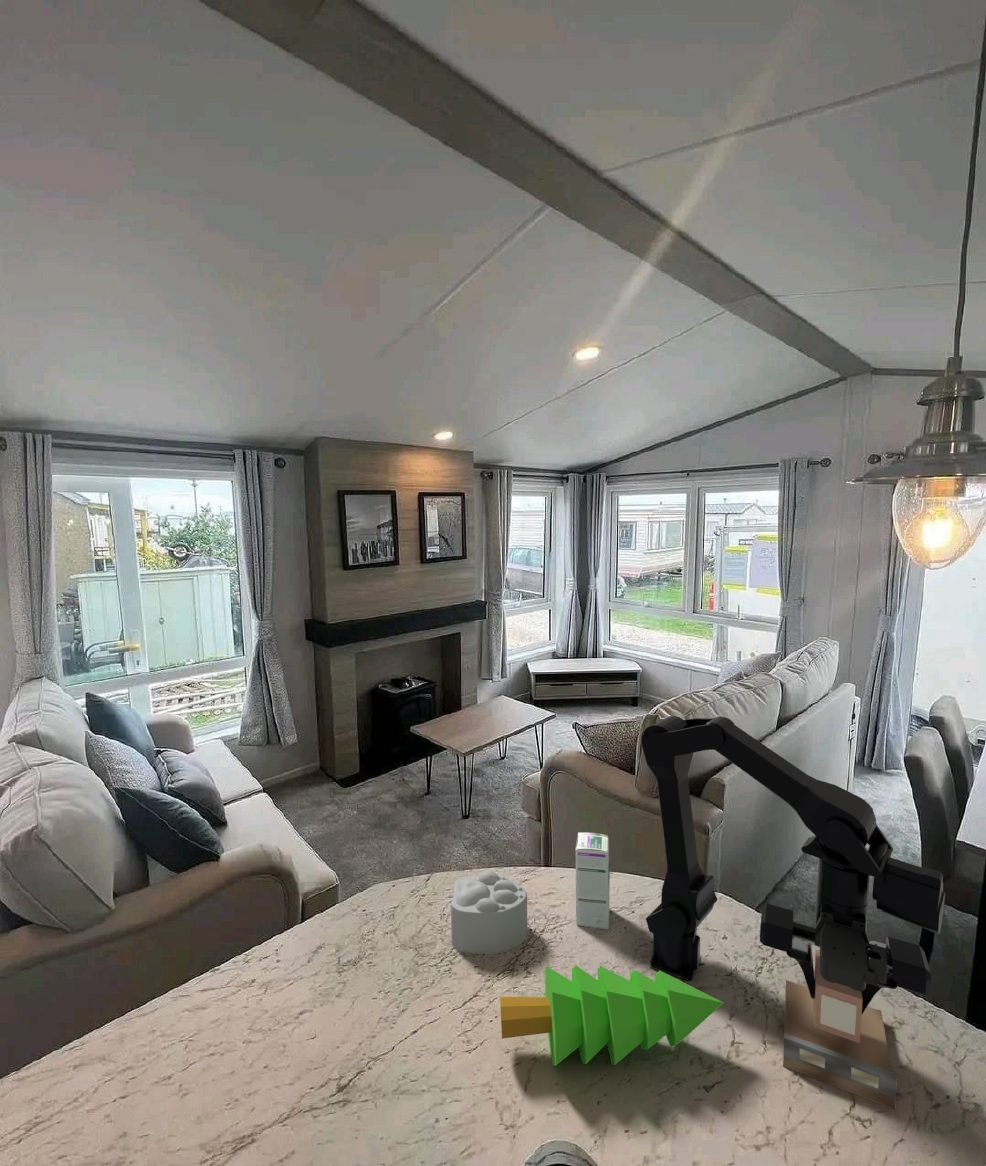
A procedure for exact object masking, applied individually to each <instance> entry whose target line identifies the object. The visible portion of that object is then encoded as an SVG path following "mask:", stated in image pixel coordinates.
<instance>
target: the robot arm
mask: <svg viewBox="0 0 986 1166" xmlns="http://www.w3.org/2000/svg"><path fill="white" fill-rule="evenodd" d="M640 745H641V748H642V751H643V756H644V759H645V763H646V764H647V766H648V768H649V769H650V771H651V772H652V774H653V775H654V778H655V779H656V784H657V785H656V786H657V793H658V802H659V810H660V818H661V826H662V836H663V841H664V844H663V845H664V850H665V860H666V872H665V875H664V879H663V884H662V888H661V897H660V898H661V899H660V903H659V905H657V906H656V907H655V908H654V910H652V912H651V913H650V914H649V915H648V916H646V918H645V921H646V925H647V928H648V931H649V932H650V934H651V933H652V956H651V958H650V961H649V967H650V968H653V969H655V970H658V971H662V972H664V973H666V974H668V975H671V976H675V977H678V978H681V979H683V980H686V981H693V978H694V975H695V974H694V973H695V971H697V970H698V969H699V964H700V959H701V958H700V957H701V937H700V936H699V935H697V933H698V932H697V929H698V927H699V926H700V925H701V924H702V923H703V921H704V920H705V919H706V918H707V917H708V916H709V914H710V913H711V912H712V910H713V909H714V905H715V904H716V903H717V901H718V897H717V895H716V892H715V891H716V890H715V878H714V876H713V875H708V874H705V873H704V871H703V870H702V868H701V866H700V864H699V860H698V851H697V842H696V833H695V825H694V818H693V809H692V808H693V807H692V799H691V793H690V785H689V771H690V767H691V763H692V761H693V756H694V753H698V752H703V751H713V750H714V751H716V752H717V753H718V754H720V755H721V756H722V757H723V758H725V759H726V760H727V761H729V762H731V763H732V764H733V765H735V766H736V767H738V769H740V770H741V771H743V772H744V773H746V774H747V775H748V776H750V777H751V778H753V779H754V780H755V781H756V782H758V783H759V784H760V785H762V786H764V787H765V788H766V789H767V790H769V791H770V792H772V793H773V794H774V795H775V796H777V797H779V798H780V799H781V800H782V801H784V802H785V803H787V805H788V806H789V807H791V809H793V810H794V811H795V813H796V814H797V816H798V817H799V818H800V820H801V822H802V823H803V825H804V826H805V827H806V828H807V829H808V830H809V831H810V832H811V833H812V834H813V836H810V837H808V838H807V839H806V841H805V842H804V844H803V845H802V846H801V847H800V851H801V852H802V853H804V854H806V855H809V856H812V857H816V859H818V861H817V879H816V880H817V882H816V898H815V899H816V901H815V917H814V918H815V920H814V927H813V926H810V925H809V926H808V925H805V924H803V923H802V924H801V923H798V922H794V910H792V909H789V908H785V907H781V906H778V905H774V904H771V903H765V904H764V905H762V907H761V917H760V924H759V925H760V927H759V929H760V930H759V942H760V943H761V944H762V945H763V946H766V947H769V948H772V949H775V950H778V951H781V952H785V953H786V955H787V956H788V957H789V958H790V959H794V960H795V961H796V962H797V963H798V965H799V967H800V969H801V971H802V974H803V976H804V979H805V983H806V987H808V989H809V992H810V995H811V998H813V999H815V977H814V967H815V965H814V957H813V946H814V947H817V948H819V950H820V974H821V976H822V977H823V978H824V979H825V980H826V981H828V982H831V983H838V984H841V985H844V986H847V987H850V988H852V989H853V990H856V991H862V999H863V1001H862V1014H863V1012H864V1011H865V1009H866V1008H867V1007H869V1004H870V1003H871V1001H872V1000H873V999H874V997H875V996H876V994H877V993H878V992H879V991H880V990H881V989H885V988H887V989H890V990H896V989H897V987H900V988H902V989H905V990H909V991H913V992H915V993H918V994H922V995H926V996H927V995H929V994H931V990H932V989H931V988H932V987H931V986H932V975H931V970H930V966H929V963H928V960H927V956H926V953H925V951H924V950H923V948H922V947H921V946H920V945H919V944H917V943H912V942H909V941H906V940H901V939H898V938H893V937H890V936H887V937H886V938H885V943H882V942H880V941H875V940H870V939H869V936H868V933H867V930H868V929H867V928H868V927H867V926H868V925H867V924H868V912H869V911H868V910H869V893H870V877H873V883H872V893H871V894H872V895H871V896H872V900H873V901H875V902H876V909H877V910H880V911H881V912H882V913H884V914H886V915H888V916H891V917H893V918H897V919H898V920H901V921H903V922H907V923H910V924H912V925H915V926H918V927H920V928H921V929H922V928H923V929H925V930H928V931H930V932H933V933H935V934H937V935H938V934H940V933H941V928H942V924H943V917H944V908H945V899H946V892H945V891H944V882H943V879H944V878H943V876H944V874H943V873H942V872H941V871H938V870H935V869H932V868H928V867H922V866H918V865H915V864H912V863H909V862H906V861H903V860H899V859H897V858H893V857H892V854H893V851H894V847H893V846H892V845H891V844H890V842H889V840H888V839H887V837H886V836H885V834H884V833H883V832H882V830H881V829H880V828H879V826H878V823H877V818H876V815H875V812H874V809H873V807H872V806H871V805H870V803H869V802H867V801H866V799H863V798H862V797H860V796H858V795H856V794H854V793H852V792H850V791H848V790H846V789H845V788H842V787H840V786H838V785H836V784H833V783H829V782H827V781H823V780H819V779H816V778H814V777H812V776H810V775H809V774H807V773H805V772H804V771H803V770H801V769H800V768H799V767H797V766H795V765H794V764H792V763H791V762H790V761H788V760H787V759H785V758H784V757H783V756H782V755H779V754H778V753H776V752H775V751H773V750H772V749H771V748H769V747H767V746H766V744H765V745H764V744H763V743H762V742H761V741H759V740H758V739H756V738H754V737H753V736H751V735H750V734H749V733H747V732H746V731H744V730H743V729H741V728H740V727H738V726H737V725H735V723H734V721H732V720H731V719H730V718H728V717H725V716H716V717H711V718H710V717H709V718H708V717H707V718H706V717H694V718H687V719H683V718H681V717H679V716H675V715H669V716H667V717H665V718H662V719H661V720H659V721H656V722H655V723H654V724H652V725H650V726H649V725H648V727H646V728H645V729H644V731H643V732H642V733H641V736H640ZM867 844H868V845H869V847H868V848H867V847H866V846H867Z"/></svg>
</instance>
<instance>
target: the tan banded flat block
mask: <svg viewBox="0 0 986 1166" xmlns="http://www.w3.org/2000/svg"><path fill="white" fill-rule="evenodd" d="M784 994H785V997H784V1023H783V1027H784V1028H783V1029H784V1031H783V1033H784V1034H783V1055H782V1057H783V1058H782V1066H783V1067H785V1068H788V1069H790V1070H792V1071H795V1072H797V1073H799V1074H802V1075H805V1076H807V1077H811V1078H813V1079H815V1080H818V1081H820V1082H823V1083H826V1084H829V1085H831V1086H833V1087H836V1088H837V1089H841V1090H843V1091H846V1092H848V1093H851V1094H854V1095H856V1096H859V1097H861V1098H864V1099H867V1100H870V1101H872V1102H874V1103H877V1104H880V1105H883V1106H884V1107H887V1108H890V1109H892V1110H896V1100H897V1083H898V1077H897V1073H895V1072H893V1071H892V1068H891V1061H890V1055H889V1050H888V1043H887V1037H886V1036H887V1035H886V1029H885V1025H884V1018H883V1014H882V1013H883V1011H882V1010H879V1009H877V1008H873V1007H870V1006H867V1008H866V1009H865V1011H864V1012H863V1014H862V1017H861V1034H860V1043H857V1042H854V1041H852V1040H849V1039H846V1038H843V1037H840V1036H837V1035H835V1034H832V1033H829V1032H826V1031H823V1030H820V1029H818V1028H815V1027H814V999H813V998H811V995H810V992H809V989H808V986H807V985H806V986H805V985H803V984H799V983H796V982H794V981H790V980H788V979H786V980H785V993H784Z"/></svg>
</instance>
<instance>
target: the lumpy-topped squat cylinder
mask: <svg viewBox="0 0 986 1166" xmlns="http://www.w3.org/2000/svg"><path fill="white" fill-rule="evenodd" d="M452 891H453V892H452V893H453V895H452V898H451V899H450V900H451V901H450V928H451V929H450V932H451V933H450V935H451V937H450V938H451V940H450V942H451V943H450V944H451V945H452V947H453V949H455V950H457V951H459V952H462V953H467V954H477V955H478V954H479V955H489V954H490V955H494V954H496V955H497V954H502V953H505V952H507V951H509V950H510V951H511V950H512V949H514V948H516V947H518V946H519V945H521V944H522V943H523V942H524V941H525V940H526V939H527V937H528V893H527V891H526V889H525V888H524V887H523V886H522V885H521V884H520V883H518V882H517V881H514V880H512V879H509V878H507V877H505V876H501V875H498V874H497V873H495V872H494V871H493V870H492V871H491V870H487V871H483V872H482V873H481V874H480V875H470V876H469V875H468V876H464V877H460V878H459V879H457V880H455V882H454V883H453V890H452Z"/></svg>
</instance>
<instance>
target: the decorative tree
mask: <svg viewBox="0 0 986 1166" xmlns="http://www.w3.org/2000/svg"><path fill="white" fill-rule="evenodd" d="M596 971H597V978H595V977H593V976H592V975H591V974H590V973H588V972H586V971H585V970H583V969H582V968H580V967H579V966H578V965H574V966H573V968H572V969H571V976H572V978H571V980H570V979H569V978H568V977H565V976H564V975H562V974H561V973H559V972H557V971H555V970H554V969H552V968H551V967H549V966H547V967H546V968H545V970H544V986H545V987H544V988H545V989H544V990H545V991H544V992H545V993H544V996H500V997H499V1002H500V1003H499V1004H500V1005H499V1006H500V1023H501V1025H500V1027H501V1039H510V1038H518V1037H526V1036H533V1035H534V1036H535V1035H541V1034H542V1035H543V1034H547V1036H548V1042H549V1043H548V1044H549V1050H550V1056H551V1063H552V1066H556V1067H557V1065H558V1064H560V1063H561V1062H562V1061H563V1060H564V1059H566V1058H567V1057H569V1056H570V1054H571V1053H573V1052H574V1051H576V1050H577V1049H578V1050H579V1054H580V1059H581V1064H585V1065H587V1064H588V1063H589V1061H591V1060H592V1059H593V1058H594V1057H595V1056H596V1055H597V1054H598V1053H599V1052H600V1051H601V1050H602V1049H603V1048H604V1047H605V1046H607V1050H608V1054H609V1059H610V1063H611V1065H617V1064H618V1063H619V1062H621V1061H622V1060H623V1059H624V1058H625V1057H626V1056H627V1055H628V1054H630V1053H631V1052H632V1051H633V1050H634V1049H636V1048H637V1047H638V1046H639V1045H640V1049H641V1050H642V1051H643V1050H649V1049H651V1048H652V1047H653V1046H654V1045H655V1044H656V1043H658V1042H659V1041H661V1040H662V1039H663V1038H664V1037H666V1040H667V1041H668V1045H669V1047H676V1046H678V1045H679V1044H680V1043H681V1042H682V1041H683V1040H684V1039H685V1038H686V1037H688V1036H689V1034H691V1033H692V1032H693V1031H694V1030H695V1029H697V1027H699V1026H700V1025H701V1024H702V1023H703V1022H704V1021H706V1019H708V1018H709V1017H710V1016H711V1015H712V1014H714V1012H715V1011H717V1009H719V1008H720V1007H721V1006H722V1005H723V1004H724V1002H723V1001H721V1000H720V999H717V998H716V997H713V996H712V995H709V994H707V993H706V992H703V991H701V990H699V989H697V988H695V987H694V986H691V985H689V984H687V983H685V982H683V981H681V980H680V979H678V978H675V977H673V975H671V974H669V973H666V972H663V971H660V970H658V971H657V972H655V973H654V974H655V975H654V976H655V977H654V978H655V979H652V978H651V977H649V976H647V975H645V974H644V973H641V972H640V971H638V970H633V971H631V972H630V973H629V979H627V978H626V977H623V976H622V975H619V974H617V973H615V972H614V971H611V970H610V969H608V968H607V967H604V966H601V965H600V966H599V967H598V968H597V970H596Z"/></svg>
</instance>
